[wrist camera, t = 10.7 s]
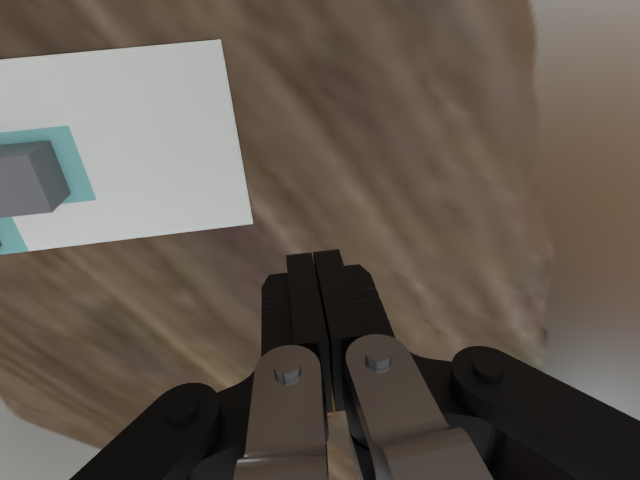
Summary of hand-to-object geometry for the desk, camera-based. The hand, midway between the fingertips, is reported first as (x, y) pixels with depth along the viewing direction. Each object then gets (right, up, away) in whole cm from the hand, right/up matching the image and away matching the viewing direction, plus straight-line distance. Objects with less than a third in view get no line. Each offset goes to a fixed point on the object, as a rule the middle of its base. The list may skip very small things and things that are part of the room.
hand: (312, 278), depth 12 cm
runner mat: (-22, +8, +25) cm, 34 cm away
